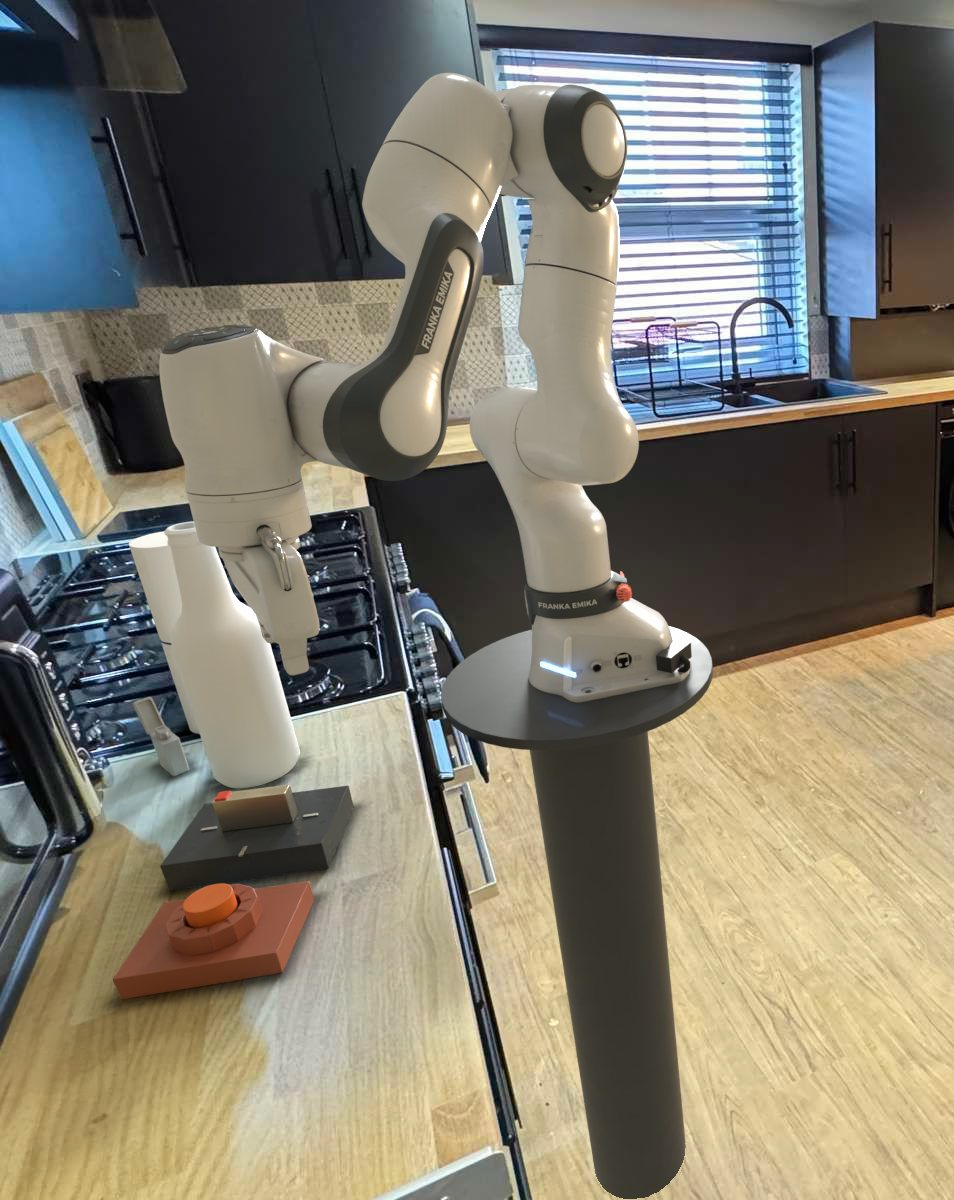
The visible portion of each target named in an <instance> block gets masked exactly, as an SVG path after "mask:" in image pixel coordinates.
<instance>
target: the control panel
mask: <svg viewBox="0 0 954 1200" xmlns="http://www.w3.org/2000/svg"><path fill="white" fill-rule="evenodd" d="M351 793H352V792H351V790H350V785H341V786H334V787H333V786H332V787H326V788H318V789H317V788H316V789H310V790H302V791H292V794H293V797H294V801H295V804H296V808H297V811H298V814H297V816H296V818H295V819H294V821H293V822H291V823H283V824H276V825H268V826H261V827H253V828H246V829H238V830H231V831H223V832H222V831H221V828H220V825H219V822H218V818H217V815H216V812H215V809H214V806H213V803H212V802H208V803H204V804H203V805H202V806H201V808H200V809H199V810H198V812H197V813H196V815H195V816H194V817H193V819H192V821H190V823H189V824H188V826H187V827H186V828H185V830H184V831H183V833H182V834H181V835H180V837H179V838H178V839H177V841H176V843H175V844H173V847H172V848H171V849H170V851H169V852H168V853H167V855H166V856H165V858H164V859H163V861H162V862H161V863H160V865H159V867H160V870H161V873H162V875H163V877H164V882H165V884H166V886H167V889H168V892H172V891H180V890H186V889H193V888H199V887H206V886H209V885H213V884H227V883H233V882H241V881H247V880H248V881H249V880H254V879H261V878H269V877H274V876H282V875H289V874H295V873H303V872H309V871H310V872H311V871H316V870H323V869H329V867H330V865H331V863H332V860H333V858H334V856H335V853H336V851H337V849H338V847H339V845H340V842H341V840H342V837H343V835H344V833H345V832H346V831H345V830H346V829H347V826H348V824H349V821H350V820H351V817H352V814H353V813H354V811H355V805H354V802H353V798H352V794H351Z"/></svg>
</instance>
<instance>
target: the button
mask: <svg viewBox="0 0 954 1200" xmlns="http://www.w3.org/2000/svg"><path fill="white" fill-rule="evenodd" d="M230 885H231V884H227V883H220V884H213V885H207V886H203V887H202V888H199V889H198V890H195V891H193V893H191V894H190V895H189V896H188V897H186V898H185V899H186V900H185V901H184V903H183V911H184V913H185V916H186V919H187V921H188V924H189V925H190V926H191V927H192V928H196V929H197V928H204V927H210V926H212V925H214V924H217V923H219V922H221V921H224V920H225V919H227V918H228V917H229V916H230V915H232V914H233V913H234V912H235V911H236V909H237V906H238V904H237V900H236V897H235V894H234V891H233V888H232V887H231V886H230Z"/></svg>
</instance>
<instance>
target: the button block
mask: <svg viewBox="0 0 954 1200" xmlns="http://www.w3.org/2000/svg"><path fill="white" fill-rule="evenodd" d="M229 885H230V886H231V887H232V888H233V891H234V894H235V897H236V900H237V904H238V906H237V909H236V911H235V912H234V913H233V914H232V915H230V916H229V917H228V918H227V919H225V920H224V921H221V922H219V923H217V924H214V925H212V926H210V927H204V928H197V929H196V928H192V927H191V926H190V925H189V924H188V921H187V919H186V916H185V913H184V911H183V903H184V901H185V900H186V899H187V898H184V899H178V900H177V899H176V900H171V901H165V902H163V904H161V907H160V908H159V909H158V911H157V912H156V914H155V915H154V917H153V918H152V919H151V921H150V923H149V924H148V925H147V927H146V928H145V930H144V932H143V933H142V935H141V936H140V938H139V939H138V941H137V942H136V944H135V945H134V946H133V948H132V950H131V951H130V952H129V954H128V956H127V957H126V959H125V960H124V962H123V963H122V964H121V966H120V967H119V968H118V970H117V972H116V974H115V975H114V976H113V978H112V981H113V984H114V986H115V988H116V991H117V993H118V995H119V998H120V1000H126V999H131V998H137V997H138V998H139V997H144V996H150V995H156V994H161V993H169V992H174V991H181V990H185V989H186V990H187V989H192V988H198V987H204V986H210V985H211V986H212V985H217V984H221V983H229V982H235V981H240V980H241V981H242V980H245V979H252V978H259V977H264V976H269V975H277V974H282V973H283V972H284V971H285V968H286V965H287V964H288V962H289V959H290V957H291V954H292V952H293V949H294V947H295V945H296V942H297V940H298V938H299V936H300V934H301V932H302V929H303V927H304V924H305V922H306V920H307V917H308V916H309V913H310V910H311V908H312V906H313V903H314V902H315V897H314V893H313V889H312V886H311V883H310V880H307V881H299V882H293V883H285V884H280V885H272V886H266V887H259V888H258V887H257V888H254V887H252V886H250V885H245V884H241V883H230V884H229Z"/></svg>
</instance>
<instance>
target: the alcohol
mask: <svg viewBox="0 0 954 1200" xmlns="http://www.w3.org/2000/svg"><path fill="white" fill-rule="evenodd" d="M164 533H165V535H166V536H167V537H168V541H167V543H168V546H170V547H171V552H172V556H173V561H174V566H175V571H176V575H177V580H178V585H179V590H180V594H181V599H182V613H181V615H180V616H179V618H178V620H177V621H176V623H175V625H174V627H173V630H172V632H171V647H172V650H173V653H174V656H175V659H176V663H177V666H178V669H179V672H180V675H181V678H182V681H183V684H184V687H185V690H186V693H187V696H188V699H189V702H190V705H191V708H192V711H193V715H194V718H195V721H196V724H197V727H198V730H199V733H200V734H199V736H200V739H201V742H202V745H203V748H204V751H205V753H206V757H207V760H208V764H209V766H210V767H209V768H210V770H211V773H212V775H213V778H214V780H216V782H218V783H220V784H222V785H223V786H225V787H227V788H231V789H247V788H248V789H249V788H254V787H258V786H262V785H265V784H268V783H271V782H273V781H276V780H278V779H280V778H282V777H283V776H285V775H286V774H288V773H289V772H291V771H292V770H293V769H294V767H295V766H296V764H297V762H298V761H299V758H300V755H301V750H300V746H299V742H298V739H297V735H296V731H295V728H294V724H293V720H292V716H291V714H290V710H289V706H288V703H287V699H286V695H285V691H284V688H283V685H282V681H281V677H280V673H279V670H278V666H277V663H276V659H275V656H274V653H273V649H272V645H271V643H267V642H266V641H265V639H264V638H263V637H262V633H261V629H260V625H259V622H258V620H257V617H256V615H255V613H254V612H253V611H252V609H251V608H250V606H249V605H247V604H244V603H243V602H241V601H240V600H239V599H238V598H237V597H236V595H235V593H234V592H233V589H232V587H231V584H230V582H229V578H228V577H227V574H226V571H225V568H224V566H223V563H222V561H221V559H220V558H221V557H220V555H219V552H218V551H217V547H212V546H207V545H204V544H202V543H200V541H199V539H198V536H197V532H196V528H195V524H194V521H186V522H180V523H176V524H172V525H169V526H167V528H166V529H165V530H164Z"/></svg>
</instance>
